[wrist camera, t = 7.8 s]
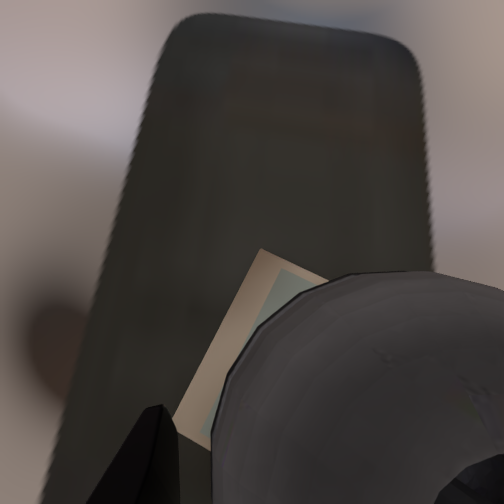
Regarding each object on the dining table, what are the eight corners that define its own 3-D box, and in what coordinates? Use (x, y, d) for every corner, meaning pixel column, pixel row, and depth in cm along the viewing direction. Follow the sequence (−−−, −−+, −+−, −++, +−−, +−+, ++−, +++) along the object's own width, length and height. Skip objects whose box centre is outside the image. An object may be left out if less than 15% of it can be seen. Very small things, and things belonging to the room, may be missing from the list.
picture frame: (465, 352, 20) (481, 352, 18) (394, 548, 18) (405, 566, 16) (261, 255, 22) (260, 247, 20) (176, 420, 20) (167, 426, 18)
